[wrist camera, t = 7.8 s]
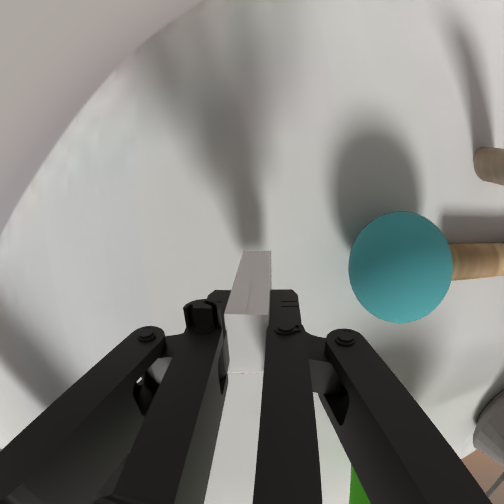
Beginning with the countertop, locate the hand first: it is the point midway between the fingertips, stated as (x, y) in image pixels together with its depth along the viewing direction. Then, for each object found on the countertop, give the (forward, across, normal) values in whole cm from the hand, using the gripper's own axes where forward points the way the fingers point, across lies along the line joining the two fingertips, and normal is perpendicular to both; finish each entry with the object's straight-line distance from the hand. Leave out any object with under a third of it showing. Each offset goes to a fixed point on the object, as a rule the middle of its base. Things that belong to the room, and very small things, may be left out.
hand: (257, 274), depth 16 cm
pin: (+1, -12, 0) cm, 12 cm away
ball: (-1, -8, -1) cm, 8 cm away
